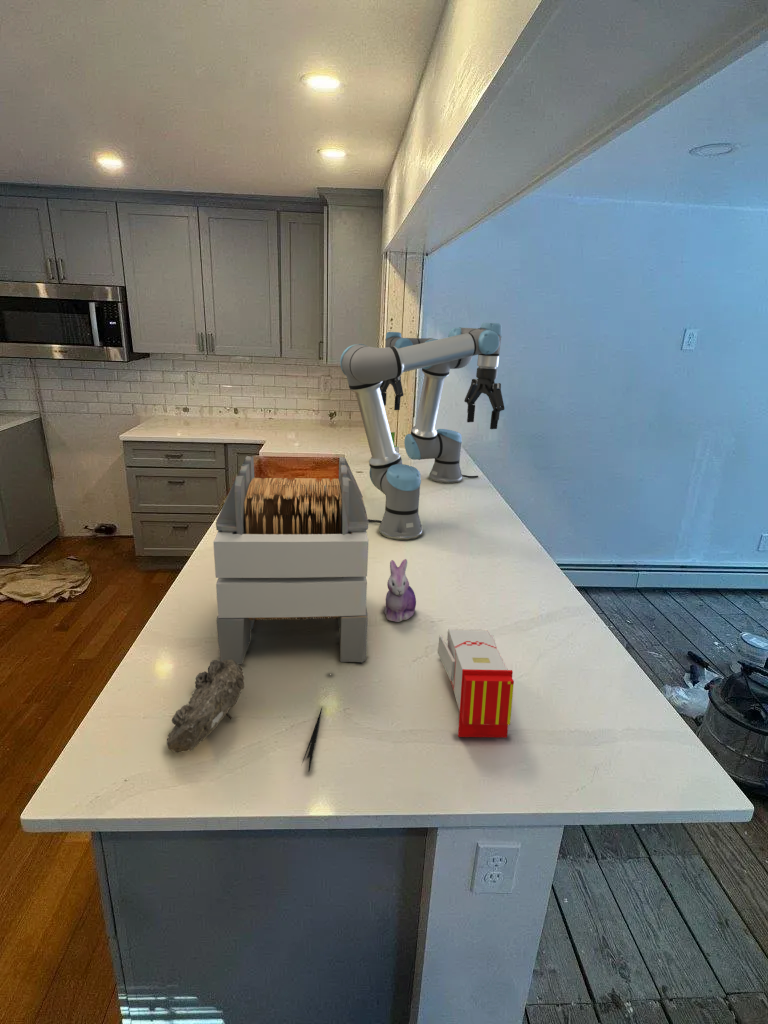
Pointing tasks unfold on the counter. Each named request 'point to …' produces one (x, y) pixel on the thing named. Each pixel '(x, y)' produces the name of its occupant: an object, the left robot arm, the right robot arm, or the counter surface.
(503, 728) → the toy
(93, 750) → the counter surface
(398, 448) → the ink box
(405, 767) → the counter surface
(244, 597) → the grey boxy piece
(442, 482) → the right robot arm
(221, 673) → the fossil
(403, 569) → the figurine
